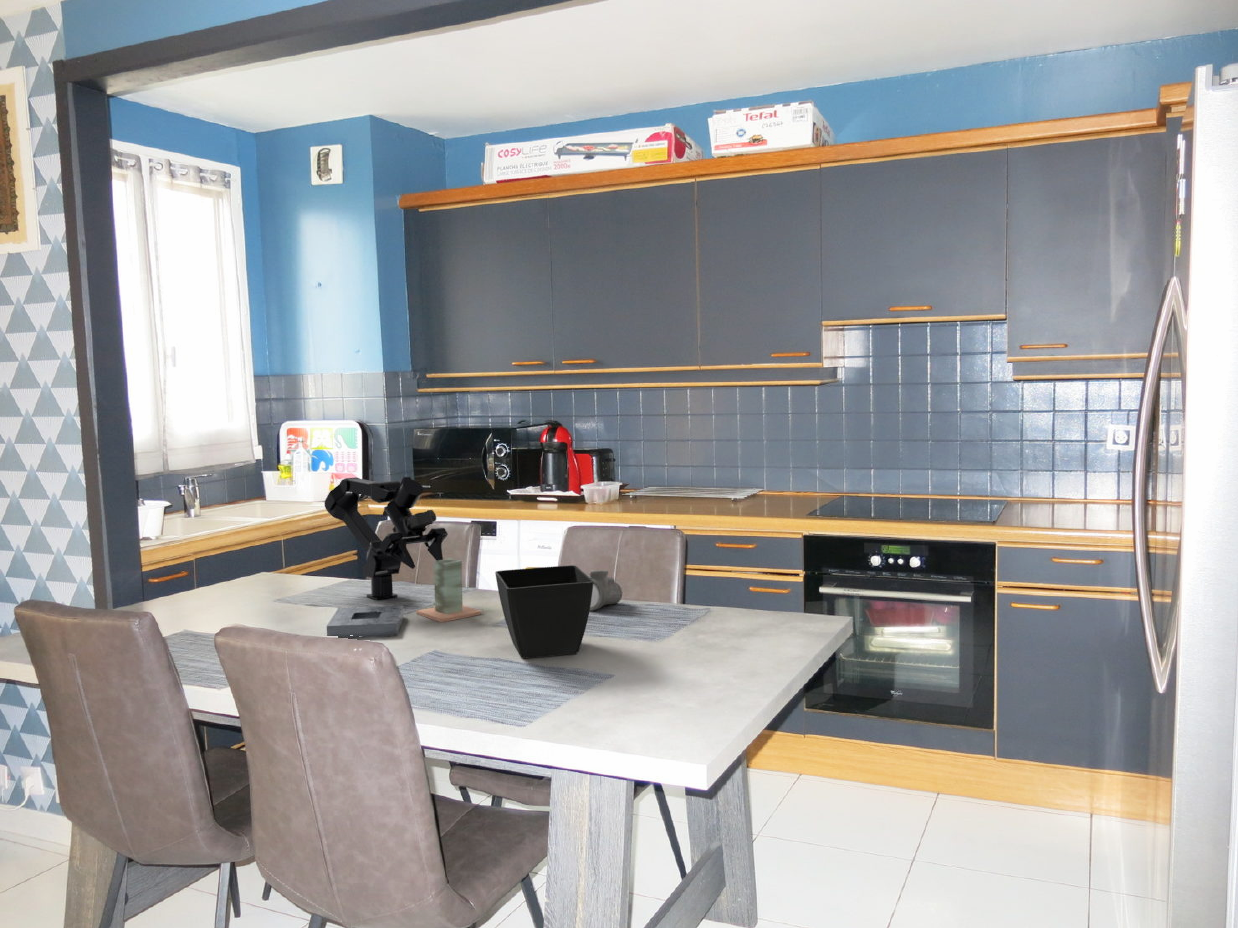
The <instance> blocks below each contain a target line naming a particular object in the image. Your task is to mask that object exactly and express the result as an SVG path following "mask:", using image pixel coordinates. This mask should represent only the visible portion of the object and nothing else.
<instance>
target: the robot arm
mask: <svg viewBox="0 0 1238 928" xmlns="http://www.w3.org/2000/svg"><path fill="white" fill-rule="evenodd" d="M423 493H424V487H423V485H422V484H421V483H420V482H418V481H416V480H414V479H412V477H411V476H403V478H402V479H401V482H400V481H399V480H387V481H373V480H368V479H364V478H363V479H362V478H360V477H357V476H356V477H347V478H346V477H345V478H343V479H342V480H340V482H339V484H338V485H337V486H336V487H334V488H333V489H331V490H330V491H329V493H328V494H327V496H326V498H325V500H324V508H325V510H326V512H327V513H328V514H329V515H330V516H332V518H334V519H337V520H339V521H342V522H343V523H344V525H346V526H347V528H348V529H349V531H350V532H351V534H352V535H353V536H354V537H355V539H356V540H357V541H358V543H359V544H360V545H361V546H362V548H364V550H365V551H366V559H365V560H366V562H365V564H364V565H363V567H362V573H363V576H364V577H367V578H370V587H371V590H370V591H371V593H369V594H365V595H366V597H368V598H371V599H373V600H375V601H378V600H385V599H391V598H395V597H399V596H398V594H396V593H394V592H393V588H394V587H393V575H397V574H398V575H399V574H400V569H401V563H403V564H404V565H406V566H407V567H409V568H410V569H412V570H413V569H415V568H416V565H415V562H414V560H413V558H412V556H411V554H410V552H409V550H408V548H407V545H413V544H416V545H417V544H424V546H425V547H426V548H427V549H426V550H427V552H429V553H430V555H431V556H432V557H433V559H434V561H438V560H444V556H443V549H442V544H443V542H444V540H445V539H446V538H447V536H448V535H449V534H448V532H447V530H446V528H445V527H434V528H431V529H430V530H429V531H428V533H427V534H424V532H426V530H427V527H428V526H429V525H432V524H434V522H435V521H437V516H436V512H434V510H433V509H427V510H426V511H424V512H417V513H414V514H413V513H412V511H411V509H412V508H414V507H415V506H416V504H417V502H418V501H419V499H420V498H421V496H422V494H423ZM360 495H361V496H368V497H370V498H371V500H372V501H374V502H376V503H378V504H382V503H383V504H384V503H387V505H386V506H384V507H383V512H382V518H385V517H388V518H389V519H390V522H391V523H392V525H393V528H392V533H390V532H389V533H387V534H386V536H385V537H384V538H383V540H381V539H380V537H379V535H377V533H376V532H375V531H374V530H373V529H372V527H371V526H370V525H369V523H368V522H367V520H366V519H365V518H364V517H363V516H362V514H361V513H360V512H359V510H358V509H359V502H360V499H361V496H360Z"/></svg>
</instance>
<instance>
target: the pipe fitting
mask: <svg viewBox="0 0 1238 928" xmlns="http://www.w3.org/2000/svg"><path fill="white" fill-rule="evenodd" d="M588 575H589V577H590V578H591V579H592V580H593V591H592V599H591V605H590V611H589V612H593V611H597V610H599V609H601V608H602V607H603V606H606V605H607V606H609V605H616V604H618V603H619V602H620V601H621V600H622V598H623V589H622V587H621V585H620V584H619V583H617V582H616V581H615V578H613V577H610V576H608V575H609V570H606V569H605V570H601V569H600V570H599V569H598V570H589V574H588Z"/></svg>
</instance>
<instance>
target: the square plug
mask: <svg viewBox="0 0 1238 928" xmlns="http://www.w3.org/2000/svg"><path fill="white" fill-rule="evenodd" d="M433 576H434V577H433V583H434V607H435V611H437V612H440V613H444V614H450V613H455V612H459V611H463V606H464V603H463V564H462V560H459V559H453V558H445V559H444V558H443V560H438V561H436V560H433Z"/></svg>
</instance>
